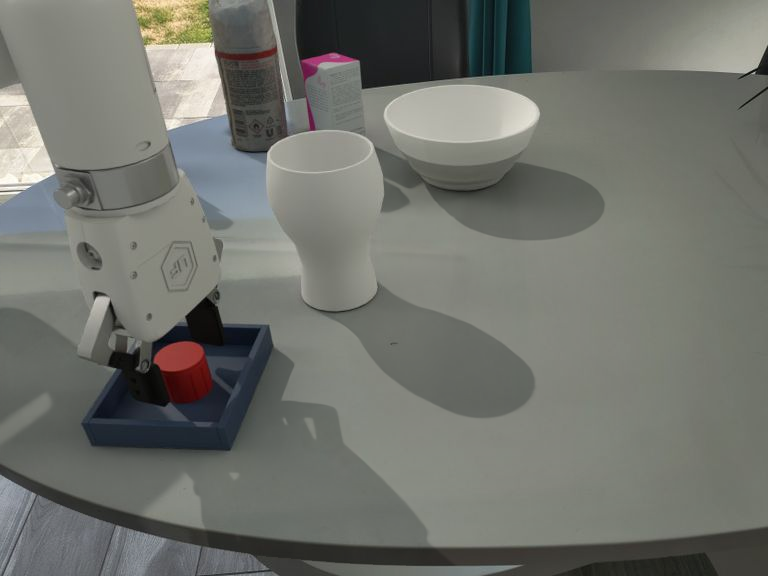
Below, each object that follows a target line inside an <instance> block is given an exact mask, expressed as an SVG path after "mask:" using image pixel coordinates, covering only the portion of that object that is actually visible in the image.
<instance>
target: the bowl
mask: <svg viewBox="0 0 768 576" xmlns="http://www.w3.org/2000/svg"><path fill="white" fill-rule="evenodd" d="M540 117H541V113H540V108H539V106H538V105H537V104H536V103H535V102H534V101H533V100H531V99H530V98H528V97H527V96H525V95H523V94H521V93H519V92H515V91H512V90H509V89H505V88H502V87H501V88H500V87H496V86H490V85H489V86H488V85H478V84H447V85H438V86H431V87H424V88H421V89H416V90H413V91H410V92H408V93H407V92H406V93H404V94H401V95H400V96H398V97H396V98H395V99H393V100H391V102H389V103H388V104H387V106H386V107H385V109H384V111H383V119H384V123H385V124H386V127H387V129H388V131H389V134H390V136H391V138H392V140H393V142H394V144H395V146H396V147H397V149H398V150H399V152H400V154H401V155H402V156H403V157H404V159H406V161H408V164H409V166H411V168H412V170H414V171H415V172H416V173H417V174H418V175H419V176H420V177H421V178H422V180H423V181H425V183H427V184H428V185H431V186H433V187H436V188H439V189H443V190H447V191H457V192H459V191H460V192H461V191H463V192H464V191H475V190H480V189H485V188H489V187H491V186H493V185H495V184H497V183H498V182H499V181H501V180H502V179H503V177H504V176H505V174H506V173H508V172H509V171H510V170H511V169H513V167H514V165H515V163H516V161H517V160H518V159H519V158H520V157H521V155H522V154H523V153H524V151H525V150H526V148H527V147H528V145H529V144H530V142H531V139H532V137H533V135H534V133H535V130H536V128H537V125H538V124H539V123H538V122H539V121H540Z"/></svg>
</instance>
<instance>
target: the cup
mask: <svg viewBox="0 0 768 576" xmlns="http://www.w3.org/2000/svg"><path fill="white" fill-rule="evenodd" d="M265 170H266V171H265V189H266V194H267V199H268V204H269V207H270V209H271V211H272V213H273V215H274V217H275V219H276V221H277V223H278V225H279V226H280V228H281V229H282V231H283V233H284V234H285V235H286V236H287V237H288V238H289V240H290V241H291V242H292V243H293V245H294V247H295V249H296V254H297V255H298V258H299V262H300V264H301V265H300V292H301V298H302V300H303V301H304V303H306V304H307V305H308V306H309V307H312V308H314V309H316V310H321V311H325V312H343V311H349V310H353V309H356V308H359V307H360V306H364V305H365V304H367V303H369V302H370V301H371V300H373V298H374V297H375V296H376V294H377V292H378V289H379V287H378V282H377V278H376V277H377V276H376V273H375V269H374V265H373V262H372V259H371V240H372V239H371V238H372V235H373V233H374V230H375V228H376V226H377V224H378V222H379V218H380V216H381V211H382V206H383V202H384V197H385V186H384V175H383V170H382V167H381V164H380V160H379V158H378V154H377V151H376V149H375V146H374V143H373V142H372V141H370V139H369V138H368V137H367V136H366V137H364V136H362V135H359V134H356V133H352V132H347V131H339V130H320V131H310V130H309V131H305V132H300V133H295V134H293V135H289V137H287V138H285V139H282V140H280V141H278V142H277V143H276V144H274V145H273V146H272V147H271V148H270V150H267V153H266V167H265Z"/></svg>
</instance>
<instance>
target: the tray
mask: <svg viewBox="0 0 768 576" xmlns="http://www.w3.org/2000/svg"><path fill="white" fill-rule="evenodd" d="M222 325H223V328H224V332H225V336H226V340H227V341H226V343H225V344H224V345H223V346H215V345H210V344H206V343H201V342H196V341H194V340H192V338H191V335H190V332H189V328H188V325H187V322H186V321H179V322H178V323H177V324H176V325H175V326H174V327H173V328H172V329H171V330H170V331H169V332H167V333H166V334H165V335H164V336H163V337H161V338H160V339H158V340H156V341H154V342H152V355H151V363H154V358H155V356H156V354H157V353H158V352H159V351H160V350H161V349H163V348H164V347H166V346H168V345H170V344H173V343H177V342H184V341H189V342H195V343H197V344H199V345H200V346H202V348H203V350H204V353H205V356H206V360H207V363H208V366H209V370H210V373H211V377H212V380H213V386H212V389H211V390H210V392H209V393H208V394H207V395H206V396H204V397H203V398H201V399H199V400H196V401H194V402H190V403H175V402H172V401H170V403H169V404H168V405H167V406H166V407H162V406H158V405H153V404H149V403H144V402H140V401H137V400H135V399H134V398H133V397H132V395H131V393H130V391H129V388H128V385H127V383H126V380H125V378H124V375H123V373H122V370H121V369H116V368H115V370H114V372H113V373H112V374H111V377H110V378H109V379H108V381H107V382H106V384H105V386H103V389H102V390H101V391H100V393H99V395H98V396H97V398H96V399H95V401H94V402H93V404H92V405H91V407H90V408H89V410H88V411H87V413H86V414H85V416H84V417H83V419H82V420H81V422H80V424H81V426H82V428H83V430H84V433H85V436H86V437H87V439H88V442H89V444H90V446H98V447H101V446H102V447H125V448H126V447H129V448H131V447H132V448H152V449H153V448H156V449H157V448H158V449H183V450H184V449H187V450H209V451H211V450H216V451H231V450H232V448H233V445H234V443H235V442H236V441H235V440H236V438H237V436H238V433H239V430H240V428H241V426H242V423H243V421H244V418H245V416H246V414H247V411H248V409H249V407H250V404H251V402H252V399H253V397H254V395H255V392H256V390H257V387H258V384H259V383H260V380H261V378H262V375H263V373H264V370H265V368H266V366H267V363H268V361H269V358H270V357H271V356H270V355H271V354H272V351H273V348H274V342H273V341H274V340H273V337H272V333H271V332H272V331H271V328H270V325H269V324H263V323H262V324H259V323H227V322H226V323H223V322H222ZM135 344H136V339H134V340H133V343H132V344H131V346H130V348H129V349H127V353H130V354H134V355H135Z"/></svg>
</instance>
